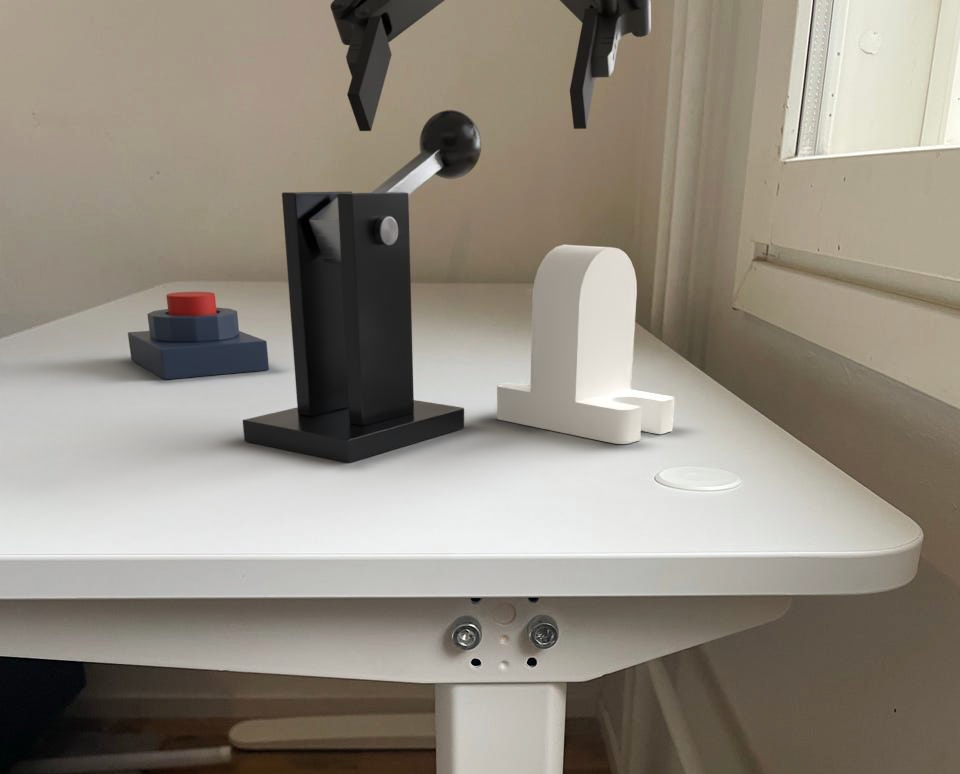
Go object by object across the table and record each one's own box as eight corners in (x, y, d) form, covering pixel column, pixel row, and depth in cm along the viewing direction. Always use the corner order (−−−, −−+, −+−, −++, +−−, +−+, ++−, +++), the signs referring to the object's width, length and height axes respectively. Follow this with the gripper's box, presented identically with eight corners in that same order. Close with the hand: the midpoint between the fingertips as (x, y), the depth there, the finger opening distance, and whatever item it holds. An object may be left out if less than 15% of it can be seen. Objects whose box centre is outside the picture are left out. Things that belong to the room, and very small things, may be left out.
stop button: (163, 316, 79) (160, 293, 78) (209, 313, 81) (206, 290, 80) (176, 321, 76) (173, 297, 76) (223, 318, 78) (221, 294, 77)
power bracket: (364, 411, 65) (353, 190, 59) (464, 428, 60) (463, 192, 55) (244, 441, 57) (220, 192, 52) (348, 463, 53) (334, 194, 48)
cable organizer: (548, 405, 66) (553, 240, 62) (676, 429, 60) (691, 248, 56) (492, 418, 63) (493, 244, 59) (622, 445, 56) (634, 252, 52)
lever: (451, 162, 62) (434, 100, 60) (499, 161, 60) (484, 97, 58) (318, 272, 56) (294, 208, 53) (367, 275, 54) (344, 209, 51)
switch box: (131, 360, 82) (124, 308, 81) (227, 352, 86) (222, 302, 84) (164, 379, 74) (157, 322, 73) (269, 370, 78) (264, 315, 76)
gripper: (709, -83, 69) (675, 160, 62) (361, -63, 74) (294, 161, 67) (713, -207, 62) (676, 50, 55) (330, -176, 68) (251, 61, 61)
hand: (465, 112), depth 61 cm, fingers open, 13 cm apart
